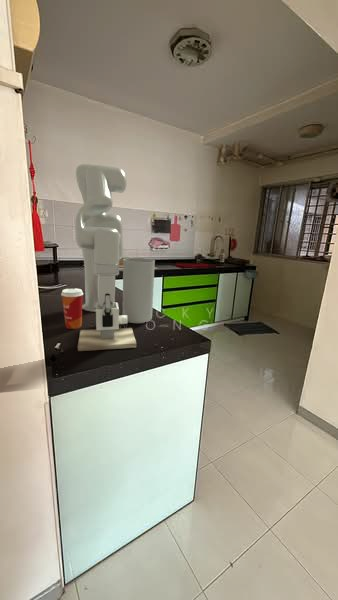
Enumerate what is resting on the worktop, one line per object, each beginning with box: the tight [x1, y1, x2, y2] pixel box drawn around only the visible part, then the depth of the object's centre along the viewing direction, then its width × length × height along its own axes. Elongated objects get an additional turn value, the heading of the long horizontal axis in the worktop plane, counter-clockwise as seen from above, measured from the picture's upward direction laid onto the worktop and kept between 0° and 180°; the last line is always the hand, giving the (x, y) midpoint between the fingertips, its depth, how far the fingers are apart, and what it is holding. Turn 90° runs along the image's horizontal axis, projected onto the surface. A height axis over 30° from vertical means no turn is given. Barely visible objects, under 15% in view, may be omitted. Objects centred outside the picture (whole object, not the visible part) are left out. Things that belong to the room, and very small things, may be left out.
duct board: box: [77, 327, 137, 352], centre depth 86 cm, size 13×18×2 cm
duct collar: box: [95, 301, 128, 330], centre depth 84 cm, size 7×10×7 cm
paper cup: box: [60, 287, 84, 330], centre depth 94 cm, size 8×8×14 cm
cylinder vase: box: [122, 257, 156, 324], centre depth 105 cm, size 12×12×25 cm
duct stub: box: [101, 329, 114, 339], centre depth 85 cm, size 4×4×5 cm
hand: (107, 321), depth 84 cm, fingers closed on duct collar, 7 cm apart
